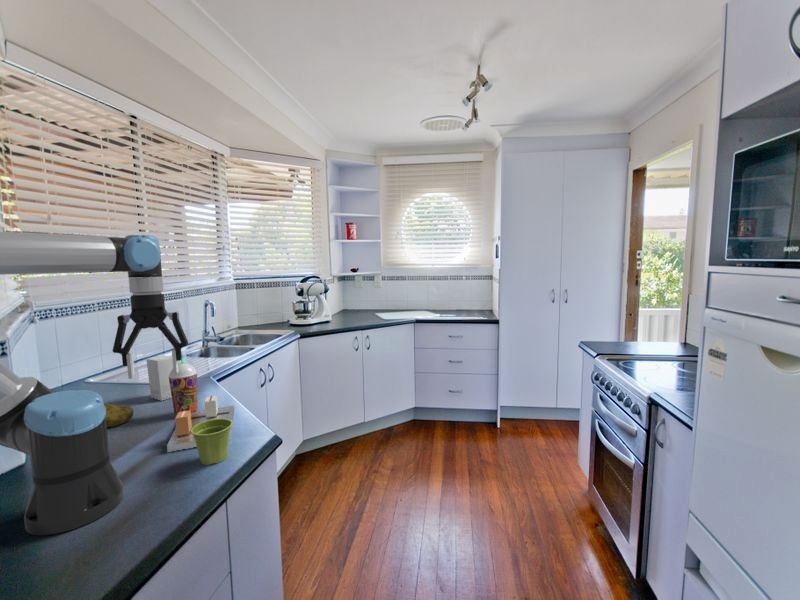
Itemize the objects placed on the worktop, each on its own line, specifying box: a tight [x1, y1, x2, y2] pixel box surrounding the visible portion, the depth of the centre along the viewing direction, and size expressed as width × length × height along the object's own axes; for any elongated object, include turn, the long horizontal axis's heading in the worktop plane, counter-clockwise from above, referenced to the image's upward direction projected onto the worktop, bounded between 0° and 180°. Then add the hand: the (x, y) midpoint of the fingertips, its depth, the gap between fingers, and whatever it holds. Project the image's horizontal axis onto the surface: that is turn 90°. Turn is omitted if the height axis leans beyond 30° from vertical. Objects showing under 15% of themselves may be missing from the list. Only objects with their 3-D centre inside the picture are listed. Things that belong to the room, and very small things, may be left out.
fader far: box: [204, 395, 219, 418], centre depth 118 cm, size 3×5×5 cm, turn 21°
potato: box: [103, 402, 134, 428], centre depth 117 cm, size 8×13×8 cm, turn 131°
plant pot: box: [191, 419, 233, 466], centre depth 94 cm, size 9×9×9 cm
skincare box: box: [146, 355, 173, 402], centre depth 142 cm, size 8×7×16 cm
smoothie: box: [168, 355, 198, 416], centre depth 125 cm, size 8×8×20 cm
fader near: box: [174, 410, 192, 436], centre depth 106 cm, size 3×5×5 cm, turn 21°
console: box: [166, 405, 235, 453], centre depth 112 cm, size 15×24×2 cm, turn 21°
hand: (154, 374), depth 102 cm, fingers open, 10 cm apart
